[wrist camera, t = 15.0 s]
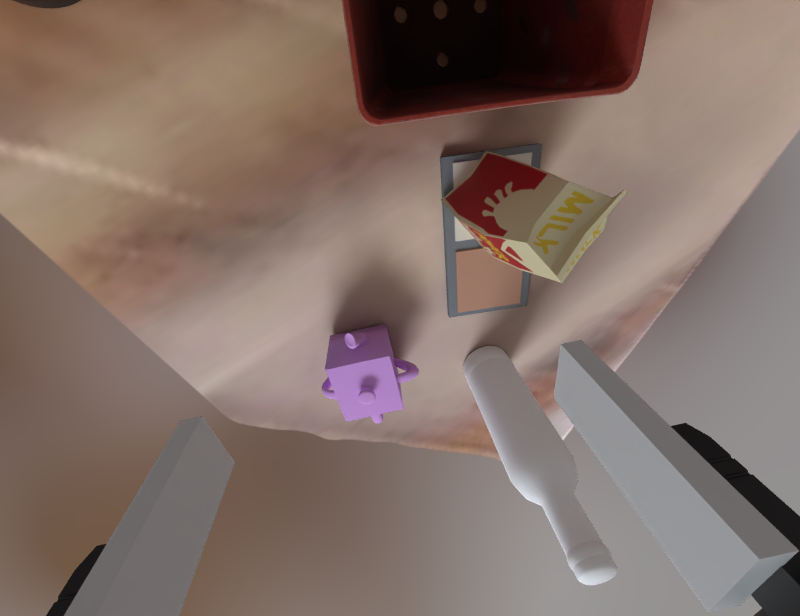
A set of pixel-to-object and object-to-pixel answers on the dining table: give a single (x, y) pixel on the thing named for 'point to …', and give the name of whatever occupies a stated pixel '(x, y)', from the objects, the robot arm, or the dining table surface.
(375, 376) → the purple boxy tea kettle
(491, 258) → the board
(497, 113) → the dining table surface
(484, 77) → the plant pot
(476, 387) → the bottle
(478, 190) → the milk carton
